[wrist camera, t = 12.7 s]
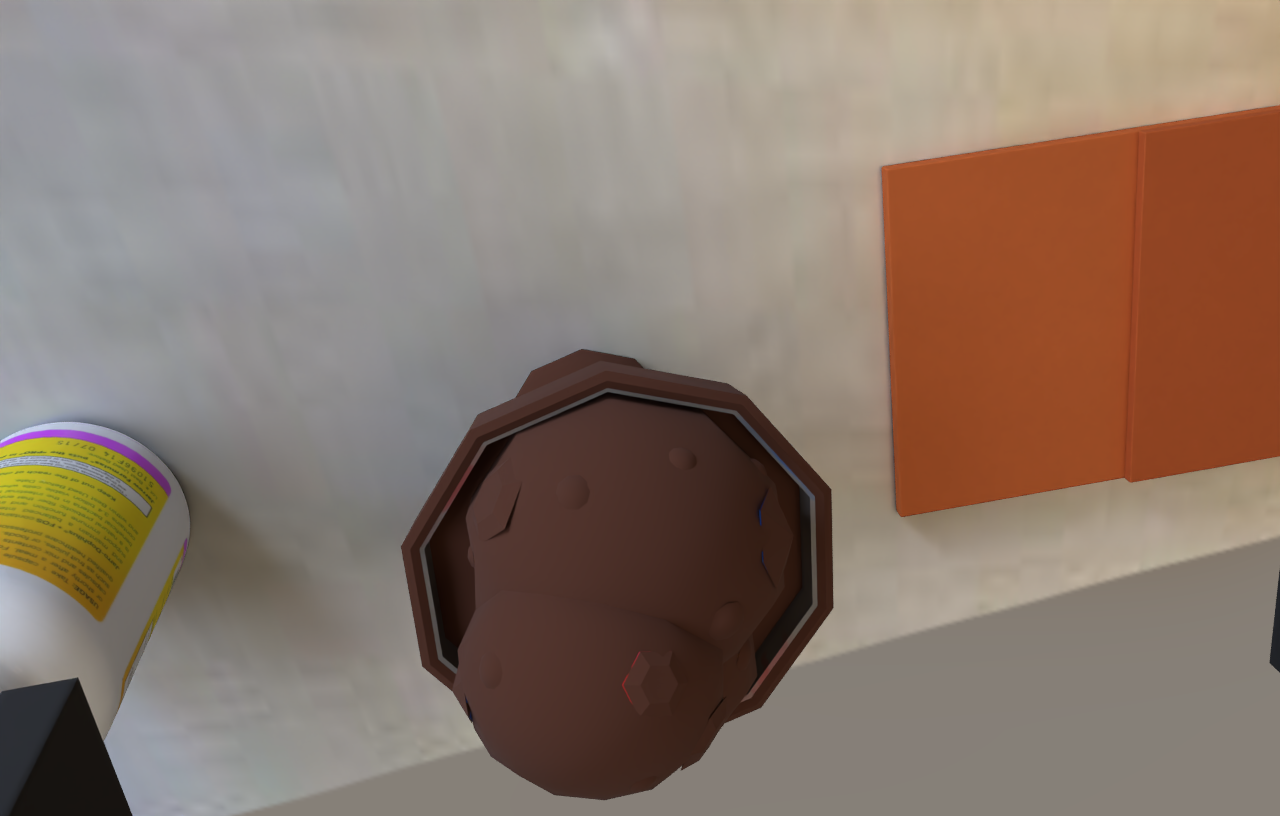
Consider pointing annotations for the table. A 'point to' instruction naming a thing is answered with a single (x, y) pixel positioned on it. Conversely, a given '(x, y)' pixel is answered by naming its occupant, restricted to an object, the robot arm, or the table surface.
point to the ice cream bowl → (617, 572)
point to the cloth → (1084, 310)
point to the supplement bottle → (84, 557)
